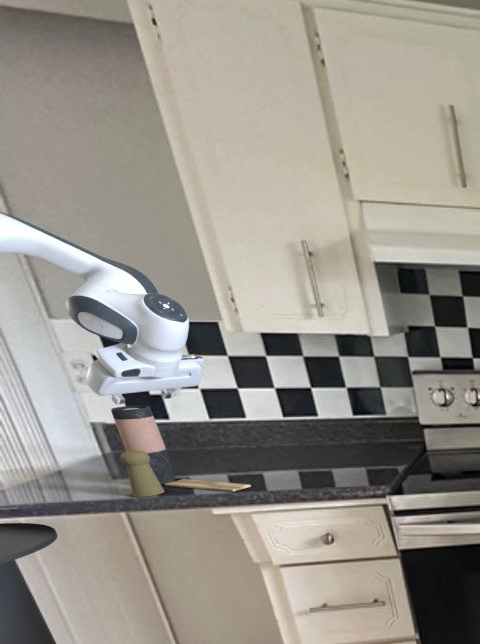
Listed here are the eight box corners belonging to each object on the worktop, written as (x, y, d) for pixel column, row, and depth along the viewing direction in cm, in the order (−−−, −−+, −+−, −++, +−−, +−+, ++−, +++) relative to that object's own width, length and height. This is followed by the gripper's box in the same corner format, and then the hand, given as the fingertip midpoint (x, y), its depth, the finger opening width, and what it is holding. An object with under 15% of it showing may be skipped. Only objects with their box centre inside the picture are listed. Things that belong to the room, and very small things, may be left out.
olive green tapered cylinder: (137, 498, 163) (119, 455, 159) (129, 494, 166) (112, 451, 162) (168, 492, 168) (152, 450, 164) (160, 488, 171) (144, 447, 167)
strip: (233, 491, 170) (232, 489, 170) (165, 485, 173) (164, 483, 173) (251, 486, 174) (250, 484, 174) (184, 481, 178) (183, 479, 178)
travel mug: (184, 478, 180) (158, 405, 173) (160, 485, 173) (132, 410, 166) (156, 478, 180) (128, 405, 172) (131, 485, 173) (100, 409, 165)
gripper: (195, 344, 156) (184, 383, 162) (85, 350, 138) (77, 394, 145) (214, 364, 156) (202, 403, 163) (106, 373, 138) (97, 416, 145)
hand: (142, 399), depth 154 cm, fingers open, 8 cm apart
